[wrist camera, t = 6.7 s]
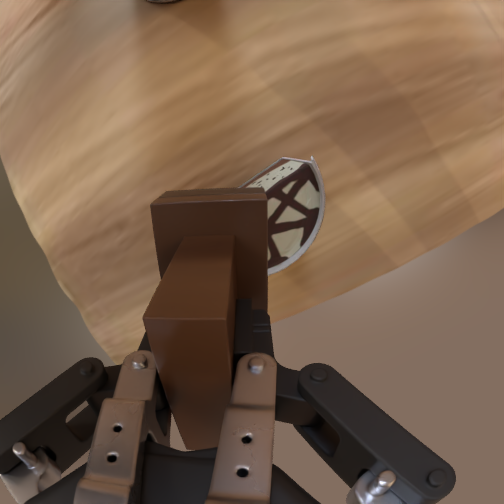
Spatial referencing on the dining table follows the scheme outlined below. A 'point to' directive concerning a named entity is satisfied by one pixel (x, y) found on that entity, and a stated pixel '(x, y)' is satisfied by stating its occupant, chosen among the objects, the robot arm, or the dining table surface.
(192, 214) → the brown stepped block
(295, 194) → the food container
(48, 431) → the robot arm
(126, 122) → the dining table surface
